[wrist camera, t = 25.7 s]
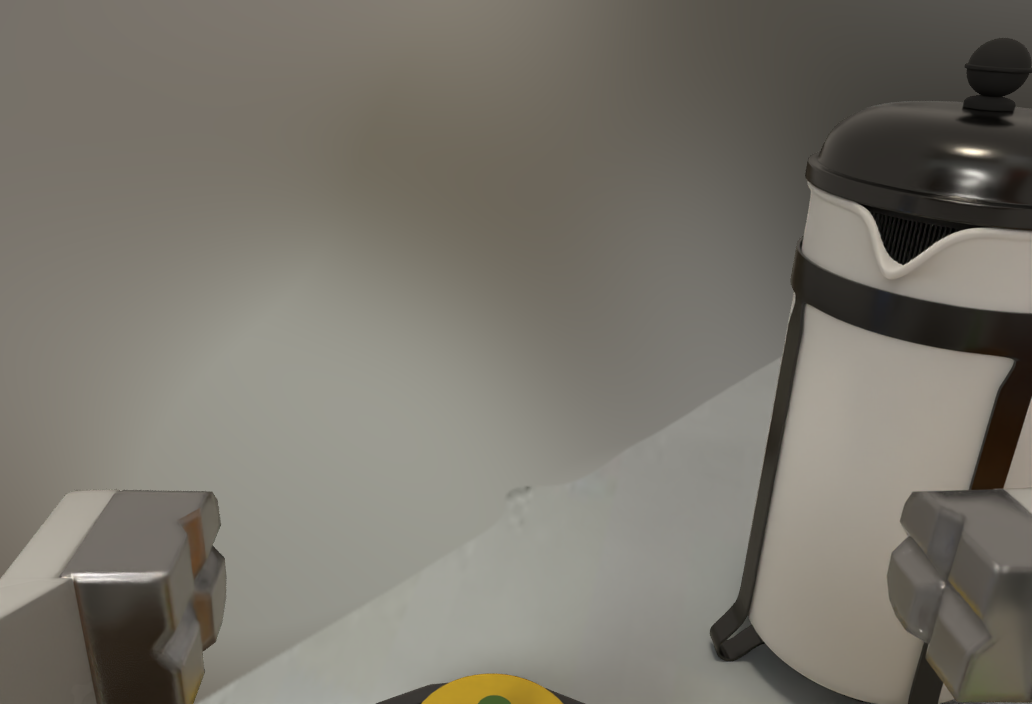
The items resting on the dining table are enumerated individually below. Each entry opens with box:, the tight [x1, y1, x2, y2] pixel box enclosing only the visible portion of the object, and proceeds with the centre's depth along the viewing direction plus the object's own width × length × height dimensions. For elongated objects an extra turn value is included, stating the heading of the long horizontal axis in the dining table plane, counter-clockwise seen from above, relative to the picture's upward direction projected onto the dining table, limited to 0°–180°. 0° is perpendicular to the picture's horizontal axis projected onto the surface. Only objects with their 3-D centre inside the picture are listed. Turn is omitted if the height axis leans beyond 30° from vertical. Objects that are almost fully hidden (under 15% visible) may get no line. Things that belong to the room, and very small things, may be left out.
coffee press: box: [710, 38, 1032, 704], centre depth 40 cm, size 17×16×30 cm
